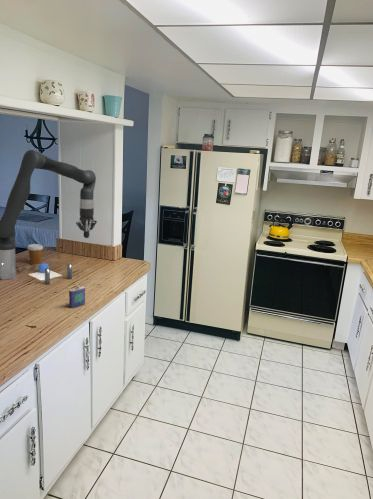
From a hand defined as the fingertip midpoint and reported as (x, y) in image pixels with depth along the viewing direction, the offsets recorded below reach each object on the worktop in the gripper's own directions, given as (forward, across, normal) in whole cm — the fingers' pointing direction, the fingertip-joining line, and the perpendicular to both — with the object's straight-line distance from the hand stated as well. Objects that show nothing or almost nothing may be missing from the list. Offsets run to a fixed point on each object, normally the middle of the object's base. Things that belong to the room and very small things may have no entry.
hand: (86, 237), depth 218 cm
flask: (+27, +23, +24) cm, 43 cm away
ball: (+24, +8, -31) cm, 40 cm away
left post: (+27, +17, -12) cm, 34 cm away
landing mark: (+27, +10, -26) cm, 39 cm away
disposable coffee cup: (+27, +2, -50) cm, 57 cm away
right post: (+27, +3, -12) cm, 30 cm away
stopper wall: (+27, +10, -40) cm, 49 cm away
